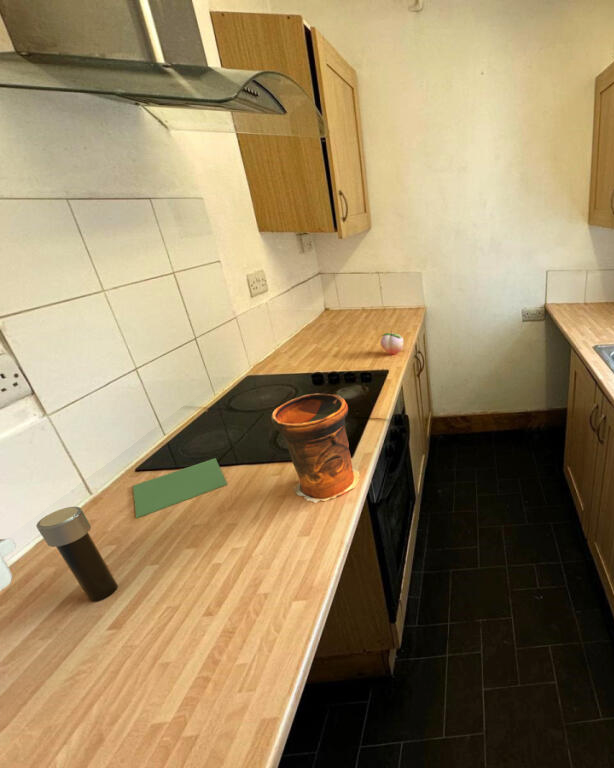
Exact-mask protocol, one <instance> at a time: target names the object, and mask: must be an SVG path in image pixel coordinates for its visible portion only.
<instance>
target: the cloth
mask: <svg viewBox="0 0 614 768" xmlns="http://www.w3.org/2000/svg"><path fill="white" fill-rule="evenodd" d="M227 485H228V483H227V481H226V478H225V476H224V474H223V471H222V469H221V467H220V465H219V463H218V460H217V458H216V457H214V458H211V459H208V460H206V461H205V460H204V461H202V462H200V463H199V462H198V463H197V464H194V465H190V466H188V467H184V468H181V469H178V470H175V471H173V472H169V473H166V474H163V475H161V476H157V477H154V478H151V479H148V480H145V481H142V482H140V483H135V484H133V485H132V490H133V491H132V493H133V501H134V511H135V518H136V519H139V518H142V517H144V516H147V515H150V514H152V513H155V512H158V511H160V510H163V509H165V508H169V507H171V506H174V505H177V504H179V503H182V502H185V501H188V500H190V499H193V498H196V497H198V496H201V495H204V494H207V493H209V492H211V491H214V490H218V489H220V488H222V487H224V486H227Z"/></svg>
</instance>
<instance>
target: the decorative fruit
mask: <svg viewBox="0 0 614 768" xmlns="http://www.w3.org/2000/svg"><path fill="white" fill-rule="evenodd" d="M380 337H381V339H380V346H381V348H382V349H383V350H384V351H385V352H387V353H388V354H390V355H397V354H398V353H400V352H401V351H402V350H403V348H404V344H405V343H404V338H403V337H402V335H400V334H399V333H396V332H386V333H383V334H382V335H381V336H380Z"/></svg>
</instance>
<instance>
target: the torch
mask: <svg viewBox="0 0 614 768" xmlns="http://www.w3.org/2000/svg"><path fill="white" fill-rule="evenodd" d="M82 509H83V508H81V507H79V506H67V507H64V508H61V509H58V510H54V511H53V512H50V513H49V514H47V515H45V516H44V517H42V518H41V519H39V521H38V522H36V528H37V531H38V532H39V534H40V535H41V537H42V539H44V541H45V543H46V544H47V546H49V547H51V548H56V549H57V551H58V552H59V554H60V556H61V557H62V559H63V560H64V562H65V563H66V565H67V567H68V568H69V570H70V572H71V574H72V576H74V578H75V580H76V581H77V584H79V586H80V588H81V589H82V591H83V593H84V594H85V596H86V597H87V599H88V600H89V602H92V603H97V602H101V601H103V600H105V599H107V598H109V597H110V596H112V595H113V594H114V593H115V592H116V591H117V590H118V587H119V584H118V583H117V580H115V579H116V578H114V576H113V574H112V572H111V570H110V568H109V567H108V565H107V563H106V561H105V560H104V558H103V556H102V554H101V553H100V551H99V549H98V547H97V546H96V544H95V542H94V540H93V538H92V537H91V535H90V533H89V532H90V531H91V528H92V525H91V524H90V522H89V520H88V518H87V517H86V515H85V512H83V510H82Z"/></svg>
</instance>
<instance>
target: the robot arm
mask: <svg viewBox="0 0 614 768" xmlns="http://www.w3.org/2000/svg"><path fill="white" fill-rule="evenodd" d="M16 548H17V545H16V543H15V542H14V540H13V538H10V537H8V538H0V592H2V591H3V590H4V589H6V588H7V587H9V585H11V582H12V581H13V573H12V571H11V569H10V568H9V566H8V564H7V562H6V560H5V559H4V558H5V557H7V556H8V555H10V554H12V552H14V551H15V550H16Z"/></svg>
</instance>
